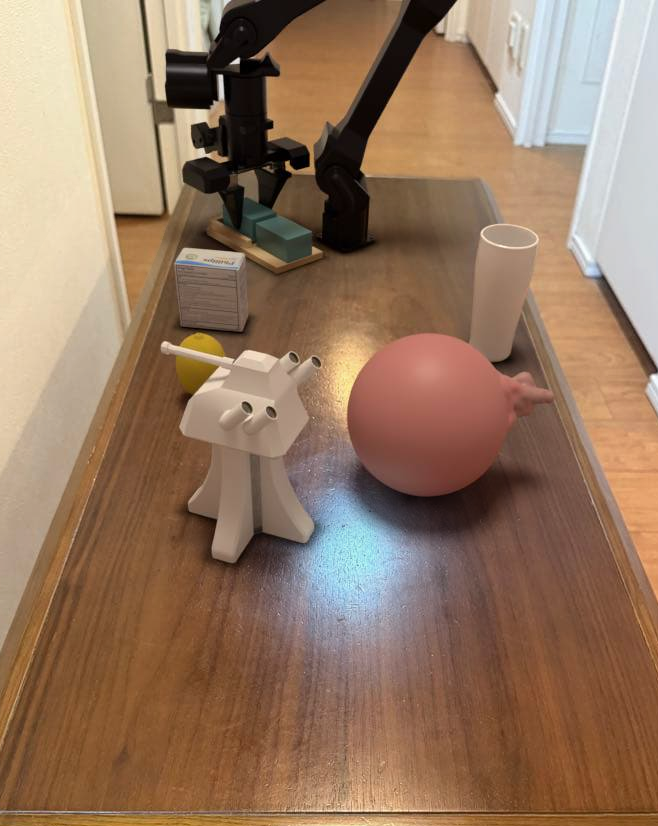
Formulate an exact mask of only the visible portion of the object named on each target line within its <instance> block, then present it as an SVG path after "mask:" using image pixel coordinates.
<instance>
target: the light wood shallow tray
mask: <svg viewBox="0 0 658 826" xmlns="http://www.w3.org/2000/svg"><path fill="white" fill-rule="evenodd" d="M206 235H207V236H209V237H211V238H212V239H214V240H216V241H218V242H220V243H222V244H223V245H225V246H227V247H228V248H230V249H232V250H233V251H234V252H238V253H244V254H245V258H247V259H249V260H251V261H253V262H255V263H257V264H258V265H260V266H262V267H263V268H265V269H267V270H269V271H271V272H272V273H274V274H276V275H278V274H279V275H280V274H282V273H285V272H287V271H290V270H293V269H296V268H299V267H301V266H304V265H308V264H310V263H313V262H315V261H318V260H321V259H324V251H323V250H320V249H319V248H318V247H315V246H313V231H312V230H310V229H308V228H306V227H305V226H302V225H300V224H299V223H296V222H294V221H292V220H290V219H288V218H286V217H284V216H282V215H277V217H274V218H271V219H268V220H265V221H261V222H258V223H256V242H252V240H251V239H250V238H248V237H246V236H244V235H242V234H241V233H239V232H237V231H235V230H233V229H231V228H230V227H228V226H226V225H224V224H223V214H222V215H219V216H215V217H213V218H209V219H208V227H206Z"/></svg>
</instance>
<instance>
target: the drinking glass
mask: <svg viewBox="0 0 658 826" xmlns="http://www.w3.org/2000/svg"><path fill="white" fill-rule="evenodd" d="M539 243H540V238H539V236H538V235H537V234H536V232H534V231H533V230H531V229H530V228H527V227H524V226H521V225H518V224H517V225H516V224H510V223H496V224H495V223H494V224H491V225H487V226H486V227H484V228H482V230H481V231H480V234H479V239H478V243H477V247H476V254H475V262H474V269H473V283H472V284H473V285H472V300H471V301H472V302H471V314H470V315H471V316H470V329H469V338H468V344H470V345H471V346H473V347H474V348H476V349H477V350H478V351H480V352H481V353H482V354H483V355H484V356H485V357H486V358H487V359H488V360H489V361H490V362H491V363H498V362H502V361H504V360H507V359H508V358H509V357H510V355H511V353H512V350H513V349H512V348H513V345H514V339H515V336H516V333H517V329H518V326H519V323H520V319H521V315H522V312H523V309H524V305H525V302H526V298H527V296H528V293H529V288H530V285H531V281H532V278H533V275H534V270H535V266H536V261H537V255H538V248H539Z"/></svg>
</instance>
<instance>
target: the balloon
mask: <svg viewBox="0 0 658 826" xmlns="http://www.w3.org/2000/svg"><path fill="white" fill-rule="evenodd" d="M554 401H556V395H555V393H554V392H553V391H551V390H549V389H545V388H541V387H537V385H536V384H535V381H534V378H533V376H532V374H531V373H530V372H528V371H521V372H519V373H517V374H516V375H514V376H512V377H510V376H508V375H506V374H503V373H501V372H500V371H499V370H498V369H496V367H495V366H494V365H493V363H492V362H490V361H489V360H488V359H487V358H486V357H485V356H484V355H483V354H482V353H481V352H480V351H478V350H477V349H476V348H474V347H473V346H471V345H470V344H469V342H466V341H464V340H462V339H460V338H457V337H454V336H451V335H447V334H442V333H435V332H434V333H431V332H424V333H416V334H411V335H407V336H404V337H400V338H398V339H396V340H394V341H392V342H389V343H388V344H386V345H384V346H383V347H381V348H380V349H379V350H377V352H375V353H374V354H373V355H372V356H370V358H369V359H368V360H367V361H366V363H365V364H364V365H363V366H362V367H361V369H360V370H359V372H358V373H357V376H356V377H355V379H354V382H353V383H352V386H351V390H350V393H349V397H348V401H347V408H346V422H347V423H346V425H347V430H348V435H349V439H350V442H351V445H352V447H353V451H354V452H355V454H356V455H357V457H358V460H360V462H361V464H362V465H363V466H364V467H365V469H366V471H368V472H369V473H370V474H371V475H372V476H373V477H374V478H375V479H377V480H378V481H379V482H381V484H384V485H385V486H387V487H389V488H390V489H393V490H394V491H397V492H400V493H403V494H405V495H410V496H416V497H438V496H439V497H440V496H443V495H444V496H445V495H448V494H452V493H455V492H457V491H459V490H462V489H464V488H466V487H468V486H469V485H471V484H472V483H474V482H476V481H477V480H478V479H479V478H480V477H481V476H482V475H484V474H485V473H486V472H487V471H488V470H489V468H491V466H492V465H493V463H494V462H495V461H496V459H497V457H498V456H499V454H500V452H501V450H502V449H503V446H504V443H505V440H506V437H507V434H508V433H509V432H510V431H511V430H512V429H513V428H514V426H515V425H516V424H517V421H518V418H522V417H527V416H529V415H531V414H532V413H533V412H534V409H535V405H536V404H537V405H538V404H539V405H540V404H541V405H543V404H552V403H553V402H554Z"/></svg>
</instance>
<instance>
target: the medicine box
mask: <svg viewBox="0 0 658 826" xmlns="http://www.w3.org/2000/svg"><path fill="white" fill-rule="evenodd" d="M246 258H247V257H246V256H245V254H244V253H239V252H237V251H227V250H216V249H206V248H205V249H204V248H194V247H193V248H192V247H183V248H182V249H181V251H180V252H179V254H178V255H177V258H176V259H175V261H174V263H173V268H174V276H175V285H176V294H177V303H178V313H179V320H180V321H179V322H180V323H179V324H180V327H184V328H185V327H186V328H197V329H207V330H218V331H229V332H240V333H242V332H243V331H244V328H245V325H246V322H247V321H248V318H249V315H250V314H249V299H248V298H249V297H248V283H247V282H248V279H247V264H246V263H247V261H246Z"/></svg>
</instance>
